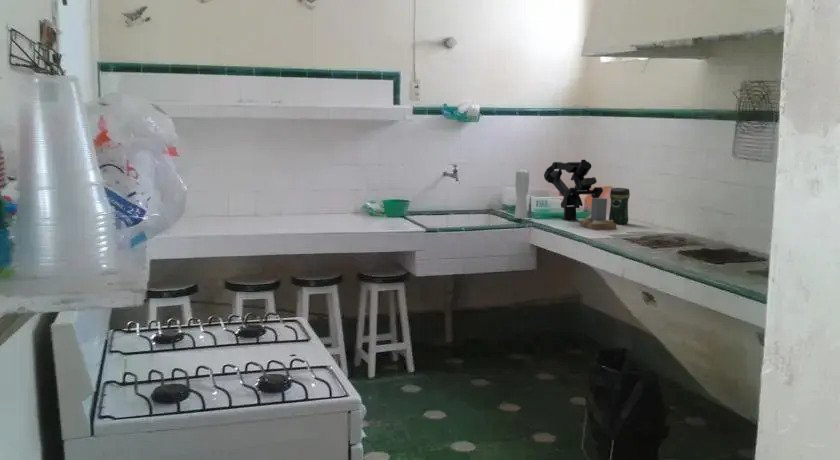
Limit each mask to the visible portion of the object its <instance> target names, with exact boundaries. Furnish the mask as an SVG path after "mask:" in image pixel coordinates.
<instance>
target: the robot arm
mask: <svg viewBox="0 0 840 460" xmlns="http://www.w3.org/2000/svg"><path fill="white" fill-rule="evenodd" d="M591 168H592V164H591V162H589V161H587V160H586V159H581V160H580V161H569V162H563V161H554V162H552V164H551V165H550V166H548V167H547V168H546V169H545V172H544V173H543V177H544V180H545V181H546V182H547V183H550V184H552V185H553V186H554V187H555V188H556V189H557V191H558V192H559V194H560V195H561V196H562V201H561V202H560V208H563V217H560V218H561V219H562V220H566V221H575V220H578V219H579V218H577V209H580V207H583V201H582V199H581V197H580V195H587V196H588V195H591V197H592V198H601V194H602V193H604V188H602V186H597V187H596V186H594V185H595V184H597V178H596V176H592V177H586V176H587V175H588V173H589V172H590V170H591ZM563 170H564V171H565V172H567V173H568V174H572V175H571V178H570V181H573V183H574V184H575V185H574V187H568V186H567V185H566V184H565V182H564V181H563V180H562V178H561V177H562V175H563ZM592 186H594V188H593V189H592Z"/></svg>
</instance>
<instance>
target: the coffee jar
mask: <svg viewBox="0 0 840 460" xmlns="http://www.w3.org/2000/svg"><path fill="white" fill-rule="evenodd" d="M630 195H631V193H630V189H629V188H625V187H612V188H611V189H610V193H609V197H610V206H609V207H610V208H609V209H610V210H609V215H608V220H613V223H614V224H616V225H623V224H624V225H628V223H629V199H630Z"/></svg>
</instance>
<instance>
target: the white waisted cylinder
mask: <svg viewBox="0 0 840 460" xmlns="http://www.w3.org/2000/svg"><path fill="white" fill-rule="evenodd" d="M514 184H515V185H514V186H515V194H516V200H515V201H516V202H515V207H514V209H515V210H514V218H513V219H514V220H516V219H515V218H521V219H523V218H531V219H532V199H531V195H530V196H529V203H528V202H527V196H528V194H529V188H530V171H529V169H528V168H526V167H522V166H521V167H519V168H518V169H516V170H515V183H514Z"/></svg>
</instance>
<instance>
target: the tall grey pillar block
mask: <svg viewBox="0 0 840 460" xmlns="http://www.w3.org/2000/svg"><path fill="white" fill-rule="evenodd" d="M607 207H608V198H604V197H599V198H593V197H592V198H591V210H590V212H591V213H590V218H591V222H592V221H597V220H607V210H608V209H607Z"/></svg>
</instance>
